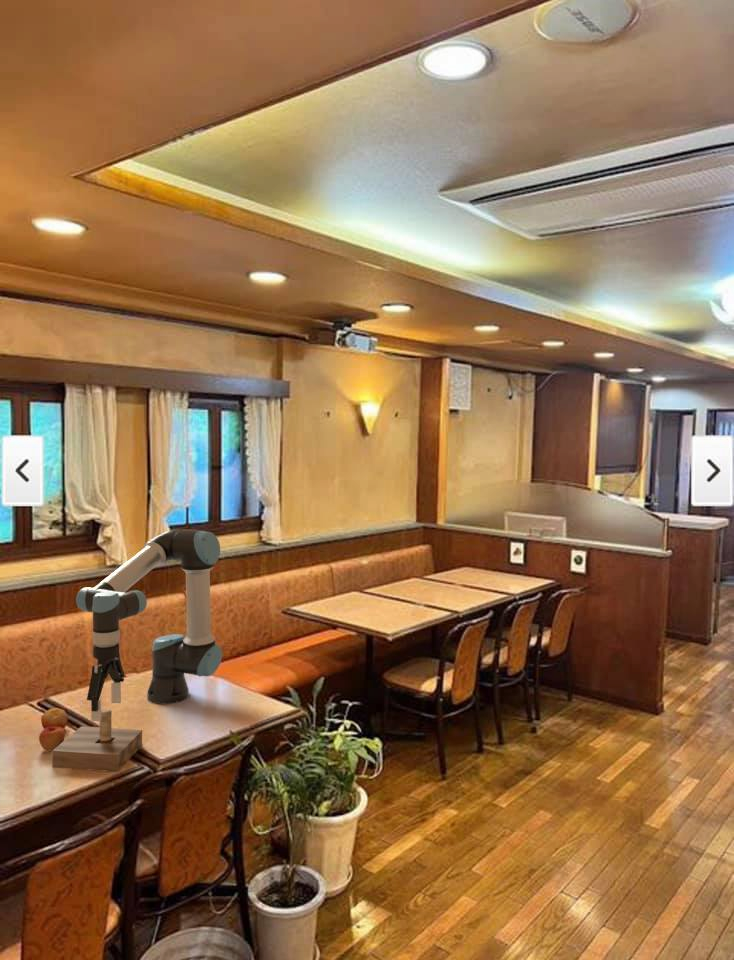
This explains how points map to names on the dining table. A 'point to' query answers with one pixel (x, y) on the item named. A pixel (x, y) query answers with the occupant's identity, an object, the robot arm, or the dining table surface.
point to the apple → (51, 737)
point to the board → (97, 749)
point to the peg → (105, 727)
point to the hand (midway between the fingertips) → (106, 711)
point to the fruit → (54, 718)
